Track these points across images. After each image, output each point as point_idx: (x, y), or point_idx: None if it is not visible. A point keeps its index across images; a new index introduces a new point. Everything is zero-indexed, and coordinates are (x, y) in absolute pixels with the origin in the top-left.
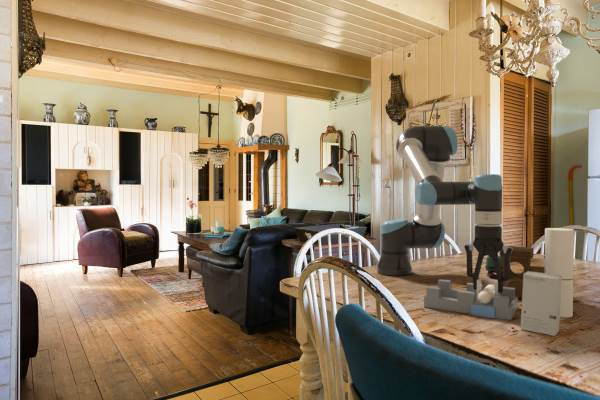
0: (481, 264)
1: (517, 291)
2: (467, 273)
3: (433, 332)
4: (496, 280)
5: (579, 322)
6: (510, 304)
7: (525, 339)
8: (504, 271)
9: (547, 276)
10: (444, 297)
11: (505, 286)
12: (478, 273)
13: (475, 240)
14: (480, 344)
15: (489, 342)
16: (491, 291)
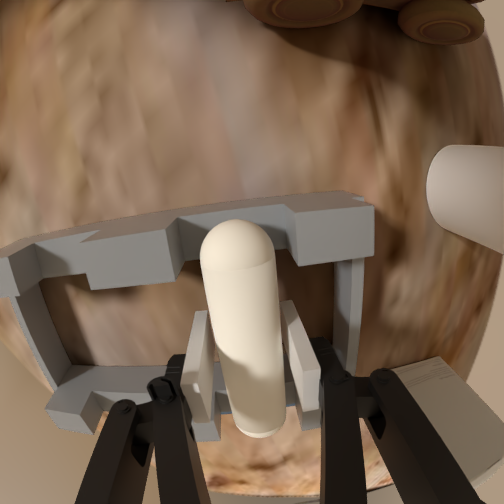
0: (199, 486)
1: (312, 17)
2: (133, 446)
3: (212, 488)
4: (303, 373)
5: (487, 250)
6: (348, 347)
7: (369, 439)
8: (379, 451)
9: (476, 487)
10: (105, 395)
11: (249, 2)
12: (195, 446)
13: None
14: (299, 485)
15: (311, 476)
16: (278, 385)
